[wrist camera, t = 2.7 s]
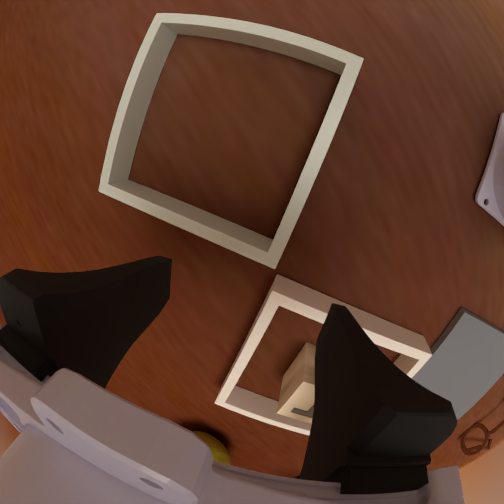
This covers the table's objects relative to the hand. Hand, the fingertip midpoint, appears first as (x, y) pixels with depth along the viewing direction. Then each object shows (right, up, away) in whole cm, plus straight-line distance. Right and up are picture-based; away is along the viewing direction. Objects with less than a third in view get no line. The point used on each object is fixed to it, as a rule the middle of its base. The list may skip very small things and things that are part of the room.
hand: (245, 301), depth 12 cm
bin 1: (-2, +10, +5) cm, 12 cm away
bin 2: (+6, -8, +10) cm, 14 cm away
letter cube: (+6, -8, +10) cm, 14 cm away
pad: (+21, -11, +8) cm, 25 cm away
